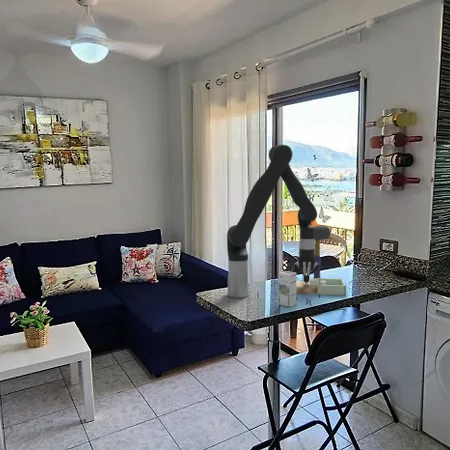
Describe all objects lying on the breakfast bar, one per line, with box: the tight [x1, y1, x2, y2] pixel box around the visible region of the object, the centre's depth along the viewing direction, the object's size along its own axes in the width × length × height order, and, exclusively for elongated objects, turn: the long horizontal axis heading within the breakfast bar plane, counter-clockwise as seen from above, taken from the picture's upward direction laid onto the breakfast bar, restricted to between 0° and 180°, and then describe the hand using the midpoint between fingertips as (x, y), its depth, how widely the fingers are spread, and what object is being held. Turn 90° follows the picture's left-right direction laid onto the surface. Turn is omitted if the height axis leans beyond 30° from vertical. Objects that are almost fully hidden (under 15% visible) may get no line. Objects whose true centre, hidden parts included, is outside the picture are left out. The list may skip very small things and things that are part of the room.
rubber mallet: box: [312, 225, 331, 279], centre depth 220 cm, size 12×8×30 cm, turn 117°
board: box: [296, 280, 318, 295], centre depth 208 cm, size 12×12×3 cm
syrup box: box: [278, 270, 297, 308], centre depth 184 cm, size 6×6×14 cm
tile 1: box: [309, 277, 319, 286], centre depth 207 cm, size 4×4×2 cm
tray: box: [316, 277, 347, 296], centre depth 206 cm, size 13×14×4 cm
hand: (306, 282), depth 207 cm, fingers closed
